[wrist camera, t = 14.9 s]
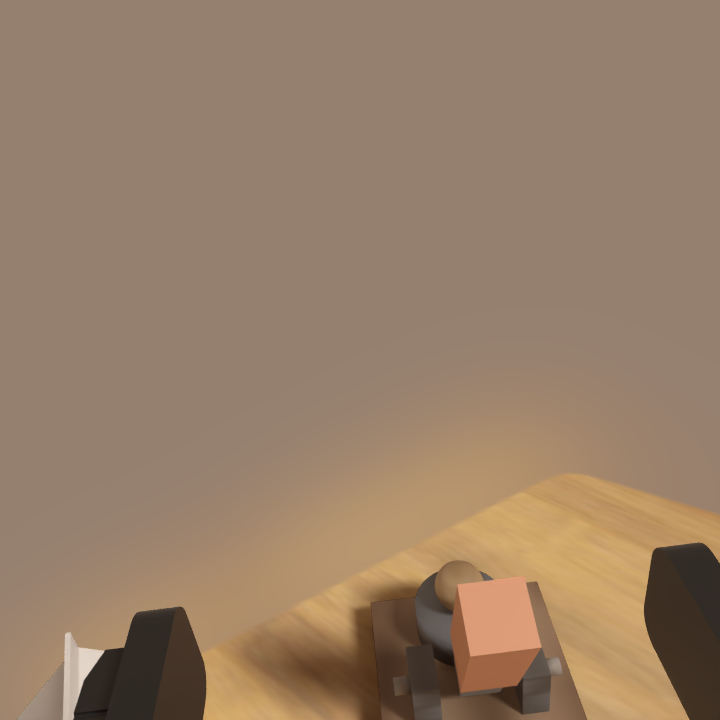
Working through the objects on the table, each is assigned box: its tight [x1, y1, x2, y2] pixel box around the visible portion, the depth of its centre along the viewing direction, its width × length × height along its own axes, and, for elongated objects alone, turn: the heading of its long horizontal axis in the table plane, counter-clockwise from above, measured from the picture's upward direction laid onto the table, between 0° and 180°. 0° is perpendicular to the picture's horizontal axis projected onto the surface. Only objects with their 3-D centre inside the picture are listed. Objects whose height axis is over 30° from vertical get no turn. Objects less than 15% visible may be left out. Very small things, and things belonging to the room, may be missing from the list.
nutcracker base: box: [371, 561, 587, 720], centre depth 42 cm, size 12×14×8 cm
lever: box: [450, 576, 542, 697], centre depth 35 cm, size 3×3×14 cm
